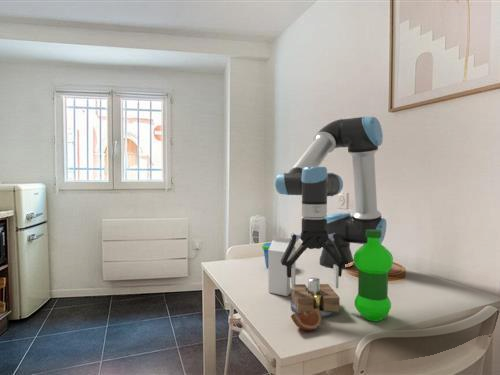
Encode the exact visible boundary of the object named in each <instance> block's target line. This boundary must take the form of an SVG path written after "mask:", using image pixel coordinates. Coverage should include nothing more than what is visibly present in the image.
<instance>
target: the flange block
mask: <svg viewBox="0 0 500 375" xmlns="http://www.w3.org/2000/svg"><path fill="white" fill-rule="evenodd" d="M290 296H291V301H292V300H293V302H294V304H295V306H296V309H297V311H298V312H305V310H306V311H308V310H313V309H314V298H313V296H312V295H311V293H308V286H307V284H306V283H305V284H304V283H303V284H301V283H299V284H294V289H291V293H290ZM320 296H321V308H322V309H323V311H337V312H340V296H339V295H338V294H337V293H336V291H335V290H334V289H333V288H332V287H331V286H330V285H329V283H320Z"/></svg>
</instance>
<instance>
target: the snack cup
mask: <svg viewBox="0 0 500 375" xmlns="http://www.w3.org/2000/svg"><path fill="white" fill-rule="evenodd" d="M271 243H272V241H271V242H265V243H263V244H262V246H261V247H262V250H263V257H264V262H265V267H266V268H268V249H269V247H270V245H271Z"/></svg>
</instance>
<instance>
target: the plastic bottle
mask: <svg viewBox="0 0 500 375" xmlns="http://www.w3.org/2000/svg"><path fill="white" fill-rule="evenodd" d="M365 236H366V237H367V243H365V244H362V245H361V246H360V247H359V248H358V249H357V250H356V251H355V253H354V255H353V259H354V266H355V267H356V268H357V270H358V271H357V273H358V278H357V279H358V281H357V282H358V284H357V285H358V286H357V287H358V288H357V289H358V290H357V292H358V293H357V295H356V296H355V299H354V307H355V309H356V311H357V312H358V313H359V314H360V315H361V316H362V317H363V318H364V319H365V320H367V321H372V322H373V321H374V322H379V321H382V320H383V319H384V318H386V317H387V316H388V315H389V313H390V310H391V308H392V303H391V299H390V297H389V296H388V292H389V291H388V289H389V286H388V284H389V280H388V279H389V278H388V277H389V271H390V270H391V269H392V267H393V264H394V257H393V253H391V252H390V251H389V249H388V248H387V247H385V246H384V245H383V244H382V243H381V244H380V243H379V238H381V236H382V231H381V230H376V229H367V230H366V235H365Z"/></svg>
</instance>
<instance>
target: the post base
mask: <svg viewBox="0 0 500 375" xmlns="http://www.w3.org/2000/svg"><path fill="white" fill-rule="evenodd" d="M307 279H308V281H307V282H308V283H307V288H308V291H307V292H308V293H311V295H312V296H313V298H314V309H316V308H319V310H320V312H321V317H322V319H327V318H331V317H333V316H336V315H337V314H338V311H323V309H322V308H321V296H320V284H321V282H320V279H319V278H318V277H308V278H307ZM290 311H292V312H293V314H295V313H301V312H298V311H297V309H296V306H295V304H294V302H293V300H292V299H291V301H290Z"/></svg>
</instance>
